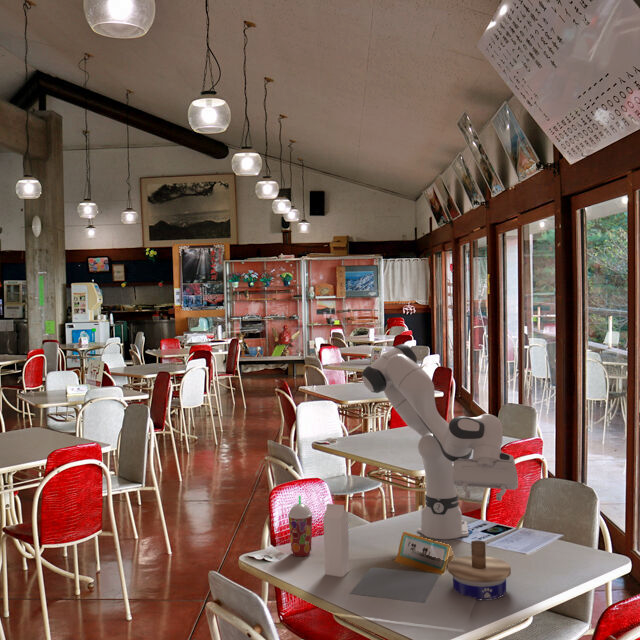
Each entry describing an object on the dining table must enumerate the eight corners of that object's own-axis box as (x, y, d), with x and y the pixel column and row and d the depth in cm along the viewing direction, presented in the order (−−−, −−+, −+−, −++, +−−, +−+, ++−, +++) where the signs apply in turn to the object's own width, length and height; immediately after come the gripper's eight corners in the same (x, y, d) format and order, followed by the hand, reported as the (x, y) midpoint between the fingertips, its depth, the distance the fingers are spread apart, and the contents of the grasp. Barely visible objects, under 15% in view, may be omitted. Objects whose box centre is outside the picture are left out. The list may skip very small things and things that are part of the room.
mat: (371, 569, 225) (371, 567, 225) (439, 576, 217) (439, 574, 217) (349, 595, 204) (349, 593, 204) (424, 604, 196) (424, 602, 196)
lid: (453, 557, 217) (452, 530, 217) (513, 562, 211) (512, 535, 211) (442, 578, 200) (441, 549, 200) (507, 585, 194) (506, 555, 194)
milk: (332, 569, 225) (330, 501, 225) (350, 572, 223) (347, 502, 223) (324, 576, 220) (322, 506, 220) (342, 578, 217) (340, 507, 217)
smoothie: (309, 548, 246) (307, 491, 246) (316, 556, 238) (315, 497, 238) (286, 551, 243) (284, 494, 243) (293, 559, 236) (291, 500, 235)
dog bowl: (470, 605, 196) (469, 583, 196) (443, 585, 211) (443, 565, 211) (517, 596, 201) (516, 575, 201) (488, 577, 215) (487, 558, 215)
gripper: (452, 452, 227) (447, 490, 218) (518, 456, 220) (516, 495, 211) (455, 463, 231) (450, 500, 222) (519, 467, 224) (517, 506, 215)
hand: (483, 498), depth 216 cm, fingers open, 8 cm apart
